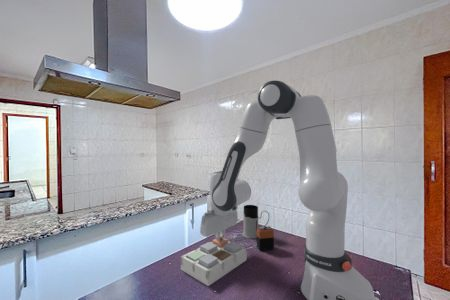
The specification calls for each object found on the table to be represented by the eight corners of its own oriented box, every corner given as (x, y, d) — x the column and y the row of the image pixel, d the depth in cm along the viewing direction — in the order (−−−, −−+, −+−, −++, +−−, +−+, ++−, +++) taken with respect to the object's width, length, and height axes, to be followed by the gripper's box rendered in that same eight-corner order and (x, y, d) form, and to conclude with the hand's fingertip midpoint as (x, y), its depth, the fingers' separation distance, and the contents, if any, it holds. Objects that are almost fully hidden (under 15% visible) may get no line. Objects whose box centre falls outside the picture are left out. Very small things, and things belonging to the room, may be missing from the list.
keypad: (246, 260, 89) (246, 244, 89) (208, 286, 72) (208, 267, 72) (219, 248, 99) (219, 234, 99) (180, 269, 82) (180, 252, 82)
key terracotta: (228, 246, 93) (228, 239, 93) (220, 251, 90) (220, 243, 90) (219, 243, 97) (219, 236, 97) (212, 247, 93) (212, 240, 93)
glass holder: (245, 230, 120) (245, 203, 120) (271, 234, 114) (271, 206, 114) (240, 236, 112) (240, 208, 112) (267, 241, 106) (267, 211, 106)
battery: (256, 246, 101) (256, 225, 100) (270, 245, 102) (270, 224, 102) (259, 251, 96) (259, 229, 96) (274, 249, 98) (274, 228, 97)
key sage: (204, 262, 83) (204, 254, 83) (194, 267, 79) (194, 259, 79) (196, 257, 86) (196, 250, 86) (186, 263, 82) (186, 255, 82)
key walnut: (230, 261, 84) (230, 253, 83) (221, 266, 80) (221, 258, 80) (220, 256, 87) (220, 249, 87) (212, 262, 83) (212, 254, 83)
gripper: (207, 215, 83) (207, 251, 83) (239, 204, 98) (239, 234, 99) (196, 212, 87) (196, 246, 88) (229, 202, 103) (229, 231, 103)
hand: (219, 239), depth 93 cm, fingers closed, pressing on key terracotta
